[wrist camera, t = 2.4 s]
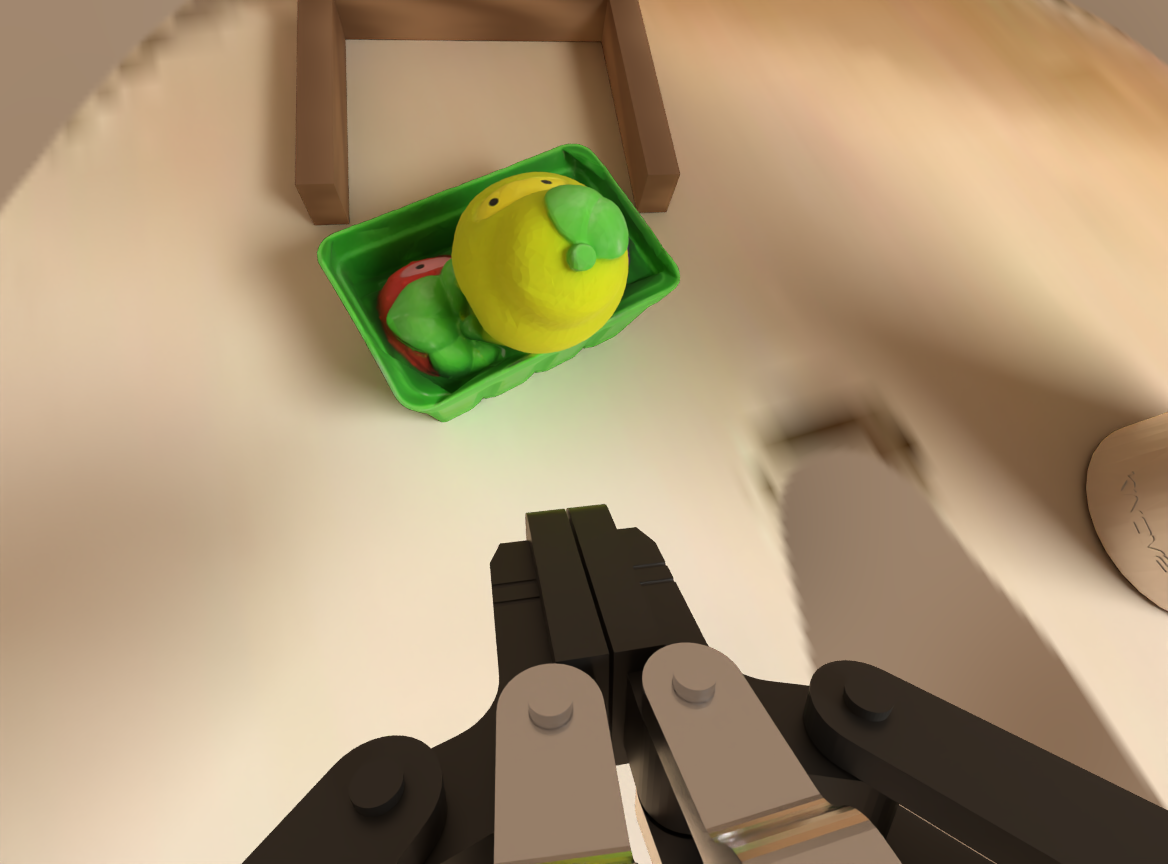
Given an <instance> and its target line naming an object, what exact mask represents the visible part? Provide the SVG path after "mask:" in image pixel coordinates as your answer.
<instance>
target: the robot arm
mask: <svg viewBox="0 0 1168 864" xmlns="http://www.w3.org/2000/svg"><path fill="white" fill-rule="evenodd" d="M1086 492H1087V500H1088V507H1089V512H1090V515H1091V518H1092V521H1093V524H1094V527H1095V530H1096V533H1097V535H1098V537H1099V538H1100V540H1101V542H1102V544H1103V546H1104V548H1105V550H1106V552H1107V554H1108V555H1109V556H1110V558H1111V559H1112V561H1113V562H1114V563H1115V565H1116V566H1117V568H1118V569H1119V570H1120V572H1121V573H1122V574H1123V575H1124V576H1125V577H1126V578H1127V579H1128V580H1129V581H1130V582H1131V583H1132V584H1133V585H1134V586H1135V588H1136V589H1137V590H1138V591H1139V592H1141V593H1142V594H1143V595H1145V596H1146V597H1147V598H1149V599H1150V600H1151V601H1153V602H1154V603H1155V604H1157V605H1158V606H1159V607H1161V608H1163V609H1165V610H1167V611H1168V412H1166V413H1164V414H1161V415H1158V416H1155V417H1152V418H1149V419H1146V420H1143V421H1140V422H1137V423H1134V424H1131V425H1129V426H1126V427H1123V428H1121V429H1118V430H1116V431H1114V432H1112V433H1111V434H1110V435H1109V436H1107V437H1106V438H1105V439H1103V440H1102V442H1101V443H1100V444H1099V446H1098V447H1097V449H1096V450H1095V452H1094V453H1093V455H1092V458H1091V461H1090V464H1089V467H1088V471H1087V483H1086ZM525 519H526V539H527V541H518V542H510V543H502V544H500V545H499V547H498V549H497V551H496V553H495V554H494V556H493V558H492V560H491V562H490V571H491V583H492V595H493V607H494V619H495V631H496V644H497V656H498V668H499V687H498V692H497V695H496V697H495V700H494V702H493V704H492V705H491V707H490V709H489V710H488V711H487V712H486V714H485V715H484V716H483V717H482V718H481V719H480V720H479V721H478V722H477V723H476V724H475V725H473V726H472V727H471V728H469V729H468V730H466V731H465V732H463V733H461V734H459V735H458V736H456V737H454V738H452V739H450V740H448V741H445V742H443V743H441V744H439V745H437V746H435V747H433V748H430V747H429V746H428V745H426V744H425V743H423V742H422V741H420V740H417V739H415V738H412V737H407V736H386V737H381V738H377V739H373V740H371V741H368V742H366V743H364V744H362V745H360V746H358V747H356V748H355V749H353V750H351V751H350V752H349V753H347V754H346V755H345V756H343V757H342V758H341V759H340V760H339V761H338V762H337V763H336V764H335V765H334V766H333V767H332V768H331V769H330V770H329V771H328V772H327V773H326V774H325V775H324V776H323V778H322V779H321V780H320V781H319V782H318V783H317V784H316V785H315V786H314V787H313V788H312V789H311V790H310V791H309V792H308V794H307V795H306V796H305V797H304V798H303V799H302V800H301V801H300V802H299V803H298V804H297V805H296V806H295V807H294V808H293V810H292V811H291V812H290V813H289V814H288V815H287V816H286V817H285V818H284V819H283V820H282V821H281V822H280V823H279V824H278V826H277V827H276V828H275V829H274V830H273V831H272V832H271V833H270V834H269V835H268V836H267V837H266V838H265V839H264V840H263V841H262V843H261V844H260V845H259V846H258V847H257V848H256V849H255V850H254V851H253V852H252V853H251V854H250V855H249V856H248V857H247V859H246V860H245V861H244V862H243V863H242V864H638V863H635V862H634V859H633V856H632V852H631V848H630V843H629V838H628V832H627V826H626V821H625V815H624V810H623V804H622V798H621V793H620V787H619V782H618V776H617V771H616V765H622V764H627V763H629V764H630V768H631V771H632V775H633V778H634V782H635V785H636V796H635V812H636V817H637V821H638V824H639V827H640V830H641V832H642V835H643V838H644V841H645V844H646V847H647V850H648V853H649V855H650V858H651V861H652V864H995V863H997V864H1168V810H1166V809H1164V808H1162V807H1159V806H1157V805H1155V804H1153V803H1151V802H1149V801H1147V800H1145V799H1143V798H1141V797H1139V796H1137V795H1135V794H1133V793H1131V792H1129V791H1127V790H1125V789H1123V788H1121V787H1119V786H1117V785H1115V784H1113V783H1111V782H1109V781H1107V780H1105V779H1103V778H1100V777H1099V776H1097V775H1095V774H1092V773H1091V772H1088V771H1087V770H1084V769H1082V768H1080V767H1078V766H1076V765H1074V764H1072V763H1070V762H1068V761H1066V760H1064V759H1062V758H1060V757H1058V756H1056V755H1054V754H1052V753H1050V752H1048V751H1046V750H1044V749H1042V748H1040V747H1038V746H1036V745H1034V744H1032V743H1030V742H1028V741H1026V740H1023V739H1022V738H1020V737H1018V736H1015V735H1013V734H1011V733H1009V732H1007V731H1005V730H1003V729H1001V728H999V727H997V726H995V725H993V724H991V723H989V722H987V721H985V720H983V719H981V718H979V717H977V716H975V715H973V714H971V713H969V712H967V711H965V710H963V709H961V708H958V707H957V706H955V705H953V704H951V703H949V702H946V701H944V700H942V699H940V698H938V697H936V696H934V695H932V694H930V693H928V692H926V691H924V690H922V689H920V688H918V687H916V686H914V685H912V684H910V683H908V682H906V681H904V680H902V679H900V678H898V677H896V676H894V675H892V674H890V673H888V672H886V671H884V670H881V669H879V668H877V667H874V666H872V665H869V664H866V663H862V662H856V661H846V660H845V661H835V662H831V663H828V664H825V665H823V666H822V667H820V668H819V669H817V671H816V672H815V673H814V674H813V676H812V679H811V681H810V686H806V685H798V684H790V683H781V682H773V681H766V680H760V679H756V678H753V677H749V676H747V675H744V674H742V673H741V671H740V670H739V668H738V667H737V666H736V664H735V663H734V662H733V661H732V660H730V659H729V658H728V657H727V656H725V655H724V654H723V653H721V652H719V651H717V650H716V649H713V648H711V647H709V646H708V644H707V643H706V641H705V639H704V637H703V635H702V633H701V631H700V629H699V627H698V625H697V623H696V621H695V619H694V617H693V615H692V613H691V611H690V609H689V608H688V606H687V604H686V602H685V600H684V598H683V596H682V594H681V592H680V590H679V588H678V586H677V584H676V582H674V580H673V576H672V574H671V572H670V570H669V568H668V566H666V565H665V560H664V559H663V557H662V555H661V553H660V551H659V549H658V547H657V545H656V543H655V542H654V541H653V540H652V539H650V538H649V537H648V536H647V535H645V534H644V533H643V532H642V531H640V530H639V529H638V528H636V527H634V528H626V529H617V528H616V526H615V524H614V521H613V519H612V517H611V514H610V512H609V510H608V507H607V506H606V505H605V504H601V505H592V506H583V507H574V508H567V509H566V511H565V509H557V510H548V511H539V512H531V513H526V516H525ZM899 804H900V805H902V806H904V807H905V808H907V809H909V810H910V811H912V812H914V813H915V814H917V815H918V816H920V817H922V818H923V819H925V820H927V821H928V822H930V823H931V824H933V825H935V826H936V827H938V828H940V829H941V830H943V831H945V832H946V833H948V834H950V835H951V836H953V837H954V838H956V839H958V840H959V841H961V842H963V843H964V844H966V845H967V846H969V847H971V848H972V849H974V850H976V851H977V852H979V853H981V854H982V855H984V856H986V857H987V858H989V859H990V860H992V861H994V862H995V863H993V862H991V861H989V860H988V859H986V858H984V857H983V856H981V855H979V854H978V853H976V852H974V851H973V850H971V849H970V848H968V847H966V846H965V845H963V844H961V843H960V842H958V841H957V840H955V839H953V838H952V837H950V836H948V835H947V834H945V833H944V832H942V831H940V830H939V829H937V828H935V827H934V826H932V825H931V824H928V823H927V822H926V821H924V820H922V819H921V818H919V817H917V816H916V815H914V814H913V813H911V812H909V811H908V810H906V809H904V808H903V807H901V806H899Z"/></svg>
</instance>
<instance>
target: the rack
mask: <svg viewBox="0 0 1168 864" xmlns="http://www.w3.org/2000/svg"><path fill="white" fill-rule="evenodd" d="M345 39H407V40H500V41H593V42H602V47H603V52H604V57H605V61H606V66H607V71H608V76H609V81H610V85H611V90H612V95H613V100H614V105H615V109H616V114H617V119H618V124H619V129H620V134H621V138H622V143H623V148H624V153H625V158H626V162H627V167H628V172H629V177H630V182H631V186H632V191H633V196H634V201H635V206H636V209H637V211H638V212H639V213H646V212H666V211H667V209H668V206H669V203H670V200H671V198H672V195H673V192H674V190H675V187H676V184H677V181H678V179H679V176H680V171H679V167H678V163H677V159H676V155H675V151H674V147H673V142H672V138H671V134H670V130H669V126H668V122H667V118H666V114H665V109H664V105H663V101H662V97H661V93H660V89H659V85H658V80H657V76H656V72H655V68H654V64H653V60H652V56H651V52H650V47H649V43H648V39H647V35H646V31H645V27H644V23H643V19H642V14H641V10H640V6H639V2H638V0H298V19H297V91H296V162H295V185H296V187H297V190H298V192H299V194H300V196H301V198H302V200H303V202H304V204H305V206H306V208H307V211H308V213H309V215H310V217H311V219H312V221H313V223H314V225H328V224H349V187H348V140H347V93H346V46H345Z"/></svg>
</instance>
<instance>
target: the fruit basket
mask: <svg viewBox="0 0 1168 864" xmlns="http://www.w3.org/2000/svg"><path fill="white" fill-rule="evenodd" d="M317 258H318V263H319V265H320V266H321V268H322V270H323V271H324V273H325V274H326V276H327V278H328V279H329V281H330V283H331V284H332V286H333V288H334V289H335V291H336V293H337V294H338V296H339V298H340V299H341V301H342V303H343V305H344V306H345V308H346V310H347V311H348V313H349V315H350V317H351V318H352V320H353V322H354V323H355V325H356V327H357V329H358V331H359V332H360V334H361V336H362V338H363V339H364V341H365V343H366V345H367V346H368V348H369V350H370V352H371V354H372V356H373V357H374V359H375V361H376V363H377V365H378V366H379V368H380V370H381V372H382V374H383V376H384V378H385V379H386V381H387V383H388V385H389V387H390V389H391V391H392V392H393V394H394V396H395V398H396V399H397V400H398V401H399V403H401V404H402V405H403V406H404V407H406V408H408V409H410V410H414V411H417V412H420V413H427V414H428V415H430V416H432V417H434V418H435V419H437V420H439V421H441V422H447V421H449V420H451V419H453V418H455V417H457V416H459V415H461V414H463V413H465V412H467V411H469V410H471V409H473V408H474V407H475V406H476V405H477V404H478V403H479V402H480V401H481V400H482V399H483V398H485V399H487V398H490V397H496V396H498V395H500V394H502V393H504V392H506V391H508V390H510V389H512V388H514V387H516V386H518V385H520V384H522V383H524V382H525V381H526V380H527V379H528V378H529V377H530V376H531V375H532V374H533V373H534V372H535V373H537V372H543V371H547V370H549V369H551V368H553V367H555V366H557V365H559V364H561V363H563V362H565V361H567V360H569V359H571V358H573V357H574V356H575V355H576V354H577V353H578V352H579V351H580V350H581V349H582V348H588V347H594V346H596V345H598V344H600V343H602V342H604V341H606V340H608V339H610V338H612V337H614V336H616V335H617V334H618V333H619V332H620V331H622V330H623V329H624V328H625V327H626V326H627V325H628V324H630V323H631V322H632V321H633V320H634V319H635V318H636V317H637V316H639V315H640V314H641V313H642V312H643V311H644V310H645V309H646V308H648V307H649V306H651V305H653V304H655V303H657V302H658V301H660V300H661V299H662V298H664V297H665V296H666V295H667V294H669V293H670V292H671V291H673V290H674V289H675V288H676V287H677V285H678V284H679V281H680V273H679V269H678V267H677V265H676V263H675V262H674V261H673V259H672V258H671V256H670V255H669V254H668V253H667V252H666V251H665V249H664V248H663V247H662V245H661V244H660V242H659V240H658V239H657V238H656V236H655V234H654V233H653V231H652V230H651V228H650V227H649V226H648V225H647V223H646V222H645V220H644V219H643V218H642V216H641V215H640V214H639V212H638V211H637V209H636V208H635V207H634V206H633V204H632V203H631V201H630V200H629V199H628V197H627V195H626V194H625V193H624V192H623V190H622V189H621V188H620V187H619V185H618V184H617V183H616V181H615V180H614V178H613V177H612V176H611V174H610V173H609V171H608V170H607V168H606V167H605V166H604V165H603V164H602V162H601V161H600V160H599V159H598V157H597V156H596V155H595V154H594V153H593V152H592V151H591V150H590V149H589V148H587V147H585V146H582V145H580V144H565V145H561V146H558V147H556V148H553V149H551V150H549V151H546V152H544V153H541V154H539V155H536V156H533V157H531V158H528V159H525V160H523V161H520V162H517V163H515V164H513V165H511V166H509V167H506V168H504V169H500V170H497V171H495V172H492V173H490V174H488V175H485V176H482V177H480V178H477V179H474V180H472V181H469V182H467V183H463V184H461V185H460V186H457V187H454V188H450V189H447V190H445V191H442V192H440V193H437V194H435V195H433V196H430V197H428V198H426V199H423V200H420V201H417V202H414V203H412V204H409V205H407V206H404V207H402V208H400V209H398V210H394V211H391V212H388V213H386V214H383V215H380V216H379V217H376V218H373V219H371V220H368V221H365V222H362V223H360V224H357V225H353V226H351V227H349V228H346V229H343V230H341V231H338V232H335V233H333V234H331V235H329V236H328V237H326V238H325V239H324V240H323V241H322V242H321V244H320V246H319V248H318V251H317Z"/></svg>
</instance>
